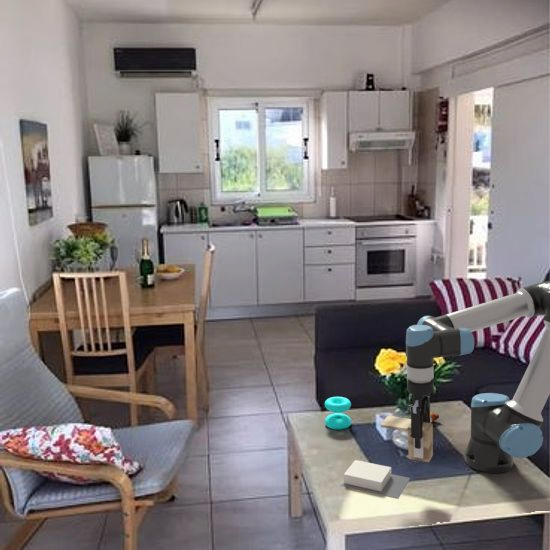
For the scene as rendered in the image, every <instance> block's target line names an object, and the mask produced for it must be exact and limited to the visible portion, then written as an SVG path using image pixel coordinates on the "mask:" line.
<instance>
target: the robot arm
mask: <svg viewBox="0 0 550 550" xmlns="http://www.w3.org/2000/svg"><path fill="white" fill-rule="evenodd" d="M538 316H539V317H540V316H543V317H544V319H543V323H544V326H545V330H544V332H543V334H542V336H541V338H540V341H539V342H538V345H537V347H536V349H535V351H534V353H533V355H532V357H531V360H530V362H529V364H528V366H527V368H526V370H525V372H524V374H523V376H522V378H521V381H520V382H519V385H518V387H517V389H516V392H515V393H514V396H513V398H512V399H511V400H510V398H509V396H508V395H505V394H501V393H495V392H485V393H484V392H483V393H479V394H476V395H474V396H473V397H472V399H471V404H470V410H471V411H470V437H469V441H468V443H467V445H466V449H465V451H464V462H465V464H466V465H467V466H468V467H470V468H471V469H474V470H476V471H479V472H483V473H487V474H488V473H489V474H500V473H501V474H502V473H506V472H508V471H510V470H512V469H513V467H514V458H515V459H525V458H527V457H530V456H533V455H535V454H536V453H537V452H538V451H539V449H540V448H541V447H542V445H543V441H544V436H543V432H542V430H541V427H542V424H543V422H544V418H543V416H542V412H543V410H544V406H545V405H546V402H547V401H548V399H549V396H550V280H548V281H542V282H538V283H534V284H530V285H527V286H524V287H520V288H518V289H517V290H516V292H515V293H513V294H509V295H505V296H502V297H500V298H495V299H492V300H490V301H486V302H483V303H480V304H476V305H473V306H470V307H466V308H464V309H461V310H457V311H453V312H450V313H447V314H444V315H440V316H437V317H435V316H433V315H432V316H431V315H424V316H423V317H421V318H420V319H419V320H418V321H417V324H413V325H410V326H409V327H408V328H406V334H405V348H406V350H405V351H406V366H405V367H404V369H405V370H406V378H407V379H406V391H407V392H408V394H411V395H413V398H412V399H411V403H412V404H411V405H413V406H411V407H410V411H411V435H410V437H411V438H413V439H414V457H417V458H422V459H423V458H424V448H423V437H422V430H423V422H426V423H430V412H431V402H430V401H431V398H430V397H431V394H433V393H434V390H435V389H434V385H435V384H434V371H435V370H434V359H435V358H437V359H438V358H445V357H455V356H463V355H468V354H471V353H472V352H473V351H474V349H475V337H474V334H473V333H474V332H476V331H479V330H483V329H486V328H489V327H492V326H495V325H499V324H502V323H505V322H509V321H512V320H516V319H518V318H522V317H526V318H528V319H529V318H533V317H538Z"/></svg>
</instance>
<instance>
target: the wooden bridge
mask: <svg viewBox="0 0 550 550" xmlns="http://www.w3.org/2000/svg"><path fill="white" fill-rule="evenodd" d="M433 426H434V425H433V422H431V423H426V422H423V430H422V437H423V448H424V458H423V459H422V458H417V457H414V439H413V438H411V437H410V435H411V419H409V418H402V417H395V416H389V415H388V416H387V417H386V418H385V420H384V419H383V421H382V422H381V423H380V428H384V429H390V430H397V431H401V432H403V431H404V432H407V438H408V439H407V441H408V442H407V444H408V445H407V446H408V448H407V449H408V450H407V451H408V460H413V461H418V462H424V463H430V461H431V459H432V458H433V456H434V450H433V449H434V442H433V441H434V430H433V429H434V427H433Z"/></svg>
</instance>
